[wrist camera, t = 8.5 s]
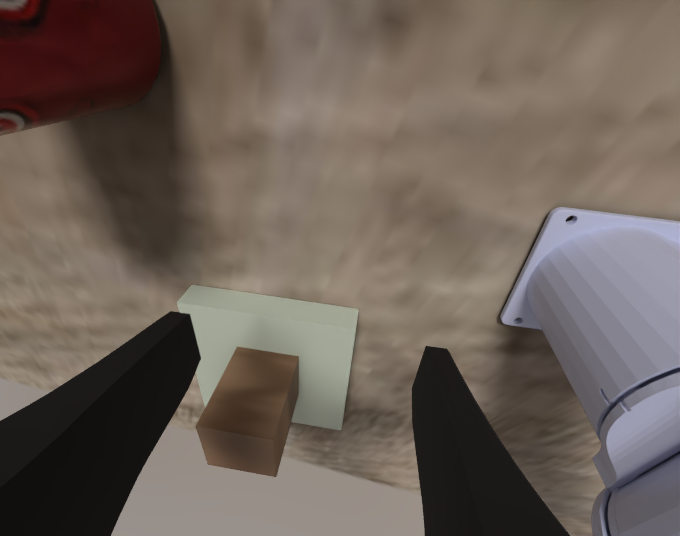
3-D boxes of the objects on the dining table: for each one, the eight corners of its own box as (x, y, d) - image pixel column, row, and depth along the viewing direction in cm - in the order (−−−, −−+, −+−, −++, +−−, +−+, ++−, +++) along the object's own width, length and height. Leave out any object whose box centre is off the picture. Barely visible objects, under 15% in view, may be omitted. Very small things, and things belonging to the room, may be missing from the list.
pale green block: (358, 309, 23) (355, 329, 21) (344, 409, 29) (341, 430, 28) (191, 284, 23) (176, 302, 22) (215, 387, 30) (205, 407, 29)
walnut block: (298, 356, 23) (273, 440, 18) (298, 394, 26) (276, 477, 21) (237, 346, 24) (195, 426, 19) (242, 385, 26) (207, 464, 21)
